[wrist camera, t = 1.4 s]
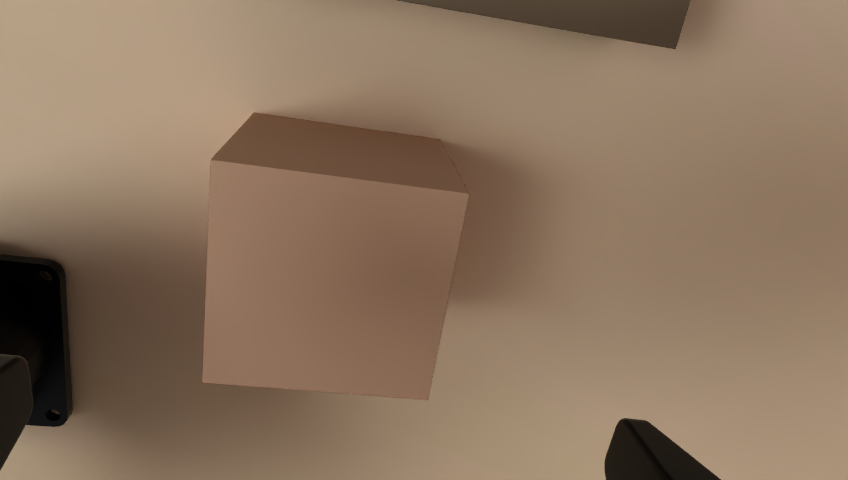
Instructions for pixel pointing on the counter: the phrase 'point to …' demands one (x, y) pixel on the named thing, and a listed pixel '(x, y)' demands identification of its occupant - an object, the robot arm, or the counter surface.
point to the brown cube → (329, 258)
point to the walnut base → (587, 16)
